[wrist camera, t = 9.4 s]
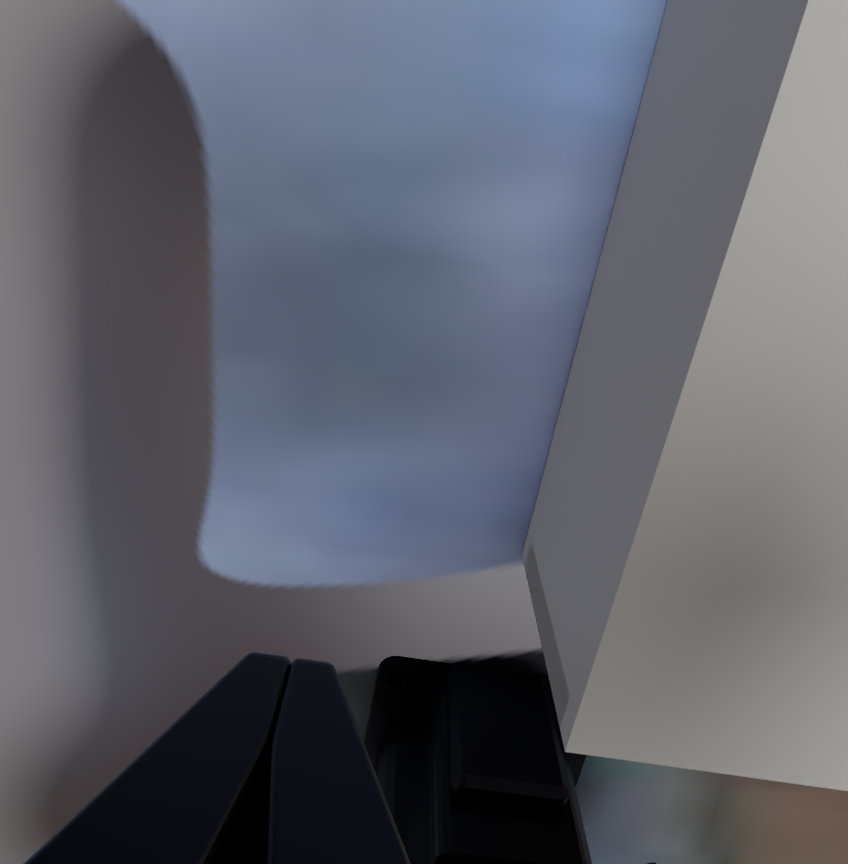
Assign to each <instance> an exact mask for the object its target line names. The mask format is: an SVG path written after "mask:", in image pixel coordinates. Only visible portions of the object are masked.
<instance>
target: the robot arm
mask: <svg viewBox="0 0 848 864" xmlns="http://www.w3.org/2000/svg"><path fill="white" fill-rule="evenodd" d="M393 672H397V673H400V674H402V675H401V676H400V677H392V676H390V675H389V674H390V673H393ZM585 758H586V755H583V754H576V753H569V752H565V749H564V745H563V740H562V736H561V731H560V726H559V722H558V717H557V713H556V708H555V704H554V699H553V694H552V690H551V685H550V681H549V678H547V677H540V676H533V675H526V674H519V673H512V672H505V671H498V670H491V669H484V668H477V667H470V666H464V665H457V664H450V663H443V662H436V661H429V660H422V659H415V658H408V657H401V656H391V657H388V658H386V659H384V660H383V661H382V662H381V663H380V665H379V667H378V672H377V677H376V683H375V688H374V693H373V698H372V703H371V708H370V714H369V719H368V724H367V729H366V734H365V739H364V742H363V739H362V737H361V734H360V732H359V729H358V726H357V724H356V721H355V719H354V716H353V713H352V711H351V708H350V706H349V703H348V700H347V698H346V695H345V693H344V690H343V687H342V685H341V682H340V680H339V677H338V675H337V672H336V670H335V668H334V666H333V665H332V664H331V663H328V662H324V661H317V660H310V659H302V658H297V659H295V660H293V662H292V663H291V665H290V660H289V658H287V657H286V656H282V655H275V654H268V653H261V652H251V653H249V654H247V655H246V656H245V657H244V658H243V659H242V660H241V661H240V662H239V663H238V664H236V665H235V666H234V667H233V668H232V669H231V670H230V671H229V672H228V673H227V674H226V675H225V676H224V677H223V678H222V679H220V680H219V681H218V682H217V683H216V684H215V685H214V686H213V687H212V688H211V689H210V690H209V691H208V692H207V693H206V694H204V695H203V696H202V697H201V698H200V699H199V700H198V701H197V702H196V703H195V704H194V705H193V706H192V707H191V708H190V709H189V710H187V711H186V712H185V713H184V714H183V715H182V716H181V717H180V718H179V719H178V720H177V721H176V722H174V723H173V724H172V725H171V726H170V727H169V728H168V729H167V730H166V731H165V732H164V733H163V734H162V735H161V736H160V737H158V738H157V739H156V740H155V741H154V742H153V743H152V744H151V745H150V746H149V747H148V748H147V749H146V750H145V751H143V753H141V754H140V755H139V756H138V757H137V758H136V759H135V760H134V761H133V762H132V763H131V764H130V765H128V766H127V767H126V768H125V769H124V770H123V771H122V772H121V773H120V774H119V775H118V776H117V777H116V778H115V779H114V780H113V781H112V782H110V783H109V784H108V785H107V786H106V787H105V788H104V789H103V790H102V791H101V792H100V793H99V794H97V795H96V796H95V797H94V798H93V799H92V800H91V801H90V802H89V803H88V804H87V805H86V806H85V807H84V808H83V809H82V810H80V811H79V812H78V813H77V814H76V815H75V816H74V817H73V818H72V819H71V820H70V821H69V822H68V823H67V824H65V825H64V826H63V827H62V828H61V829H60V830H59V831H58V832H57V833H56V834H55V835H54V836H53V837H51V839H49V840H48V841H47V842H46V843H45V844H44V845H43V846H42V847H41V848H40V849H39V850H38V851H37V852H36V853H35V854H33V855H32V856H31V857H30V858H29V859H28V860H27V861H26V862H25V863H24V864H592V862H591V857H590V853H589V848H588V844H587V839H586V835H585V830H584V826H583V821H582V817H581V812H580V808H579V803H578V799H577V794H576V790H575V787H576V784H577V781H578V778H579V775H580V772H581V769H582V766H583V763H584V760H585ZM648 864H656V863H655V862H654V863H648Z"/></svg>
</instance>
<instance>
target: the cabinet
mask: <svg viewBox="0 0 848 864" xmlns="http://www.w3.org/2000/svg"><path fill="white" fill-rule="evenodd" d="M522 557H523V562H524V567H525V571H526V576H527V580H528V585H529V589H530V594H531V598H532V603H533V608H534V612H535V616H536V621H537V626H538V630H539V635H540V639H541V644H542V649H543V653H544V658H545V663H546V667H547V672H548V676H549V681H550V685H551V690H552V694H553V699H554V704H555V708H556V713H557V717H558V722H559V726H560V731H561V736H562V740H563V745H564V749H565V752H569V753H576V754H583V755H591V756H598V757H605V758H612V759H620V760H627V761H634V762H641V763H649V764H656V765H663V766H670V767H678V768H685V769H692V770H699V771H707V772H714V773H721V774H728V775H735V776H743V777H750V778H757V779H764V780H772V781H779V782H786V783H793V784H801V785H808V786H815V787H822V788H830V789H837V790H844V791H848V0H668V1H667V5H666V9H665V13H664V17H663V20H662V24H661V28H660V32H659V36H658V39H657V43H656V47H655V51H654V55H653V58H652V62H651V66H650V70H649V74H648V77H647V81H646V85H645V89H644V93H643V96H642V100H641V104H640V108H639V112H638V115H637V119H636V123H635V127H634V131H633V134H632V138H631V142H630V146H629V150H628V153H627V157H626V161H625V165H624V169H623V172H622V176H621V180H620V184H619V188H618V191H617V195H616V199H615V203H614V207H613V210H612V214H611V218H610V222H609V226H608V229H607V233H606V237H605V241H604V245H603V248H602V252H601V256H600V260H599V264H598V267H597V271H596V275H595V279H594V283H593V286H592V290H591V294H590V298H589V302H588V305H587V309H586V313H585V317H584V321H583V324H582V328H581V332H580V336H579V340H578V343H577V347H576V351H575V355H574V359H573V362H572V366H571V370H570V374H569V378H568V381H567V385H566V389H565V393H564V397H563V400H562V404H561V408H560V412H559V416H558V419H557V423H556V427H555V431H554V435H553V438H552V442H551V446H550V450H549V454H548V458H547V461H546V465H545V469H544V473H543V477H542V480H541V484H540V488H539V492H538V496H537V499H536V503H535V507H534V511H533V515H532V518H531V522H530V526H529V530H528V534H527V537H526V541H525V545H524V549H523V553H522Z"/></svg>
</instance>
